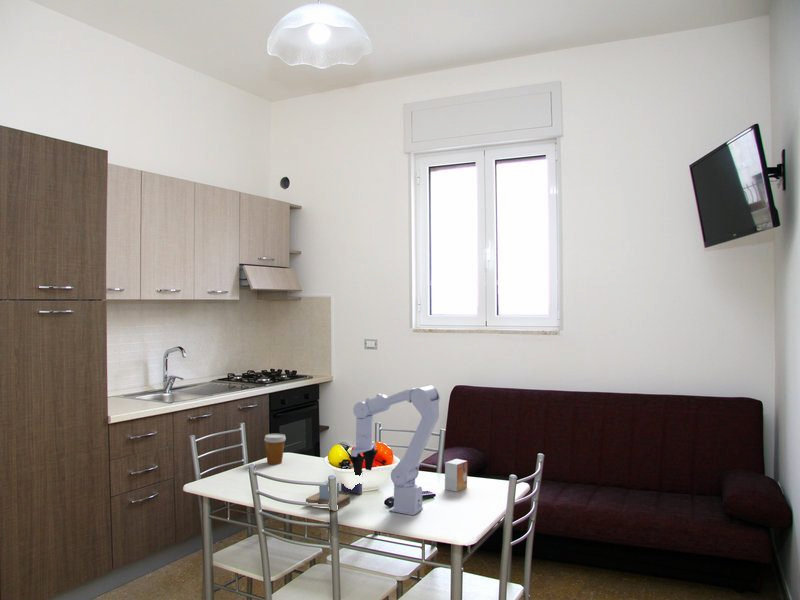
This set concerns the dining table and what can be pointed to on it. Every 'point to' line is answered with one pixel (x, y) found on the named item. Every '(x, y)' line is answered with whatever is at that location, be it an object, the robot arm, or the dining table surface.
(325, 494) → the slate cube
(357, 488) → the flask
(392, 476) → the robot arm
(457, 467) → the small box
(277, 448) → the disposable coffee cup
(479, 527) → the dining table surface
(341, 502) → the walnut base
